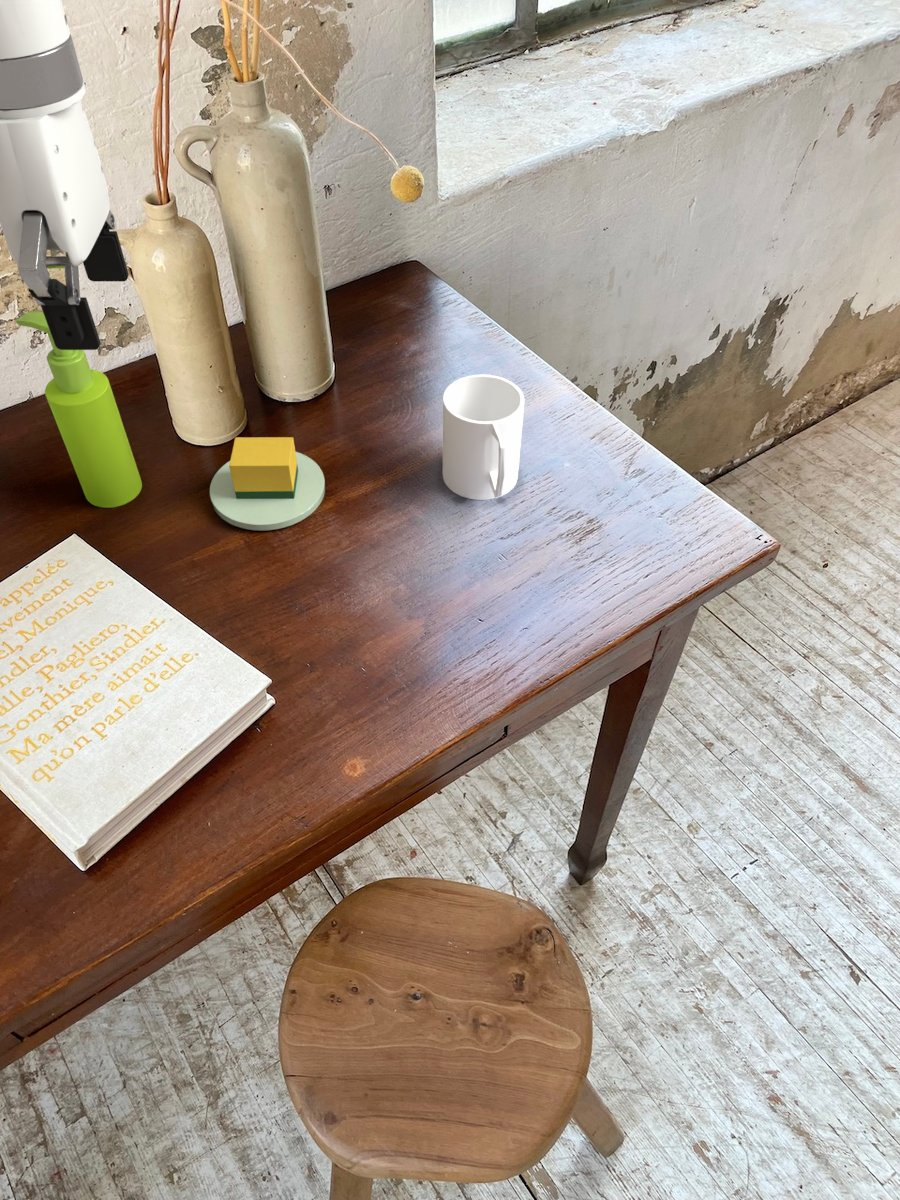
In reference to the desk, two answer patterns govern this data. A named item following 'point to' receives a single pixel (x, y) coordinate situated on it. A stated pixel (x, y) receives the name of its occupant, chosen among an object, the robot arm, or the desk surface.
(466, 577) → the desk surface
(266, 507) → the plate
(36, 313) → the soap dispenser
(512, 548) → the desk surface
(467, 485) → the cup
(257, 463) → the sponge
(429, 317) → the desk surface
